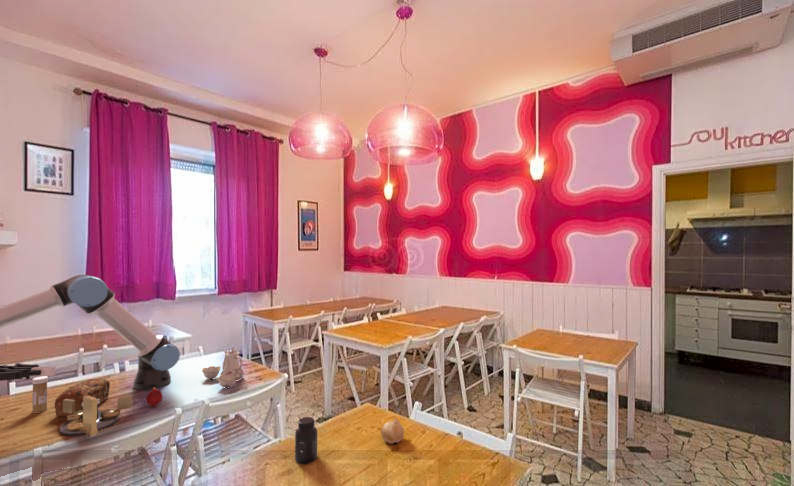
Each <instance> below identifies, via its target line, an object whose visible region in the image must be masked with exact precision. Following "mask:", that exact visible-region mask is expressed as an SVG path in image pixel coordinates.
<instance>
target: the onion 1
mask: <svg viewBox="0 0 794 486" xmlns="http://www.w3.org/2000/svg"><path fill="white" fill-rule="evenodd" d="M162 400H163V393H162V391H161V390H159V389H157V388H155V387H154V388H153V389H151V390H150V391H149V392H148V393H147V395H146V397H145V402H146V404H147V405H149V406H150V407H152V408H155V407H157V406H158V405H159V404H160V403H161V402H162Z"/></svg>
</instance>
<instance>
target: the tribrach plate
mask: <svg viewBox="0 0 794 486" xmlns="http://www.w3.org/2000/svg"><path fill="white" fill-rule="evenodd" d="M132 396H133V395H132V394H128V395H123V396H117V407H111V408H107V409H104V410H99V405H100V404H101V403H100V399H97V429H98V430H100V431H102V430H101V429H103V430H105V429H107V427H108V428H110V427H111V426H113V425H115V424H116V423H117V422H118V421H119V419H120V416H121V411H122V410H126V409H132V405H133V404H132V403H133V401H132V400H133V397H132ZM99 403H100V404H99ZM98 404H99V405H98ZM82 407H83V402H82ZM63 412H65V413H70V414H68V416H67V420H65V421H64V422H63V423H62V424H60V427H59V433H60V434H61V435H63V436H68V437H71V436H72V437H73V436H75V435H77V436H82V435H81V434H84V435H86V434H85V433H83V432H81V431H79V430H78V431H68V424H69V423H70V422H72V421H75V420H78V419H83V410H79V411H75V400H72V399H64V400H63ZM104 428H105V429H104Z"/></svg>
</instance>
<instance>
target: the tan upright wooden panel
mask: <svg viewBox="0 0 794 486" xmlns="http://www.w3.org/2000/svg"><path fill="white" fill-rule="evenodd" d="M78 430H79V431H81V432H83V433H85V434H84V435H87V436H89V437H92V436H95V435H96V436H97V435H98V432H99V431H98V429H97V399H96V398H94V397H92V396H89V395H86V396H83V419H78V420H75V421H72V422H70V423H69V424H68V431H78Z"/></svg>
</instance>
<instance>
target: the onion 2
mask: <svg viewBox="0 0 794 486" xmlns="http://www.w3.org/2000/svg"><path fill="white" fill-rule="evenodd" d="M380 434H381V438H382V439H383V440H384V442H386V443H387V444H390V445H394V443H397V444H398V443H400V442H401V441H402V440H403V438H404V436H405V428H404V427H403V424H401V423H400V422H399V420H398V419H396V418H394V420H393V421H392V420H391V421H387V422H385V423H384V424H383V425H382V427H381V430H380Z"/></svg>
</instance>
